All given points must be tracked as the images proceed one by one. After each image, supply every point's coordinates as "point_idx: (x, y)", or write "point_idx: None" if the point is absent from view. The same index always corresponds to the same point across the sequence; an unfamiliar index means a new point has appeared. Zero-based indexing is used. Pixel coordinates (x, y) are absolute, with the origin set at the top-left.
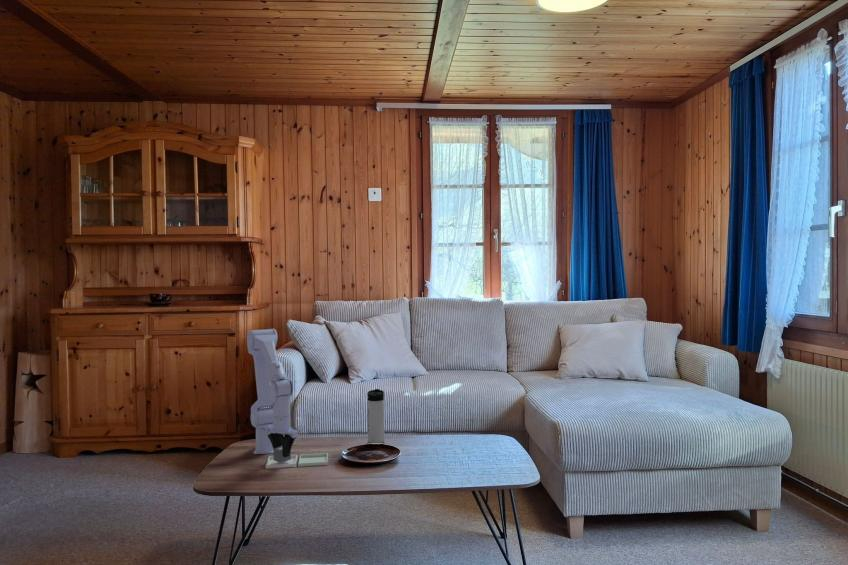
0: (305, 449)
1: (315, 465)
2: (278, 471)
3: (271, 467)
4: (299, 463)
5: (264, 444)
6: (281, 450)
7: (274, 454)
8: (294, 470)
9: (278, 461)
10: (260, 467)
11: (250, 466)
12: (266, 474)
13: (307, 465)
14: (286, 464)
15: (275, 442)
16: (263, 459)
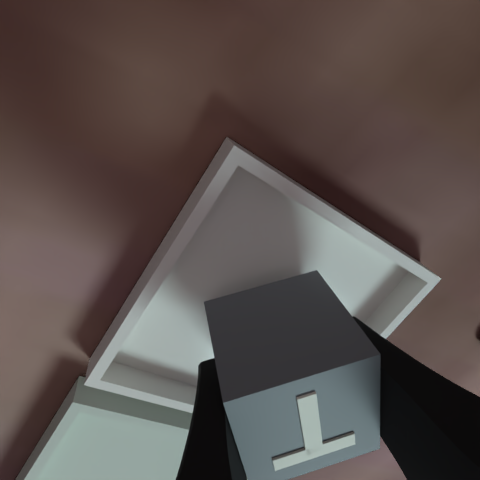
0: (381, 473)
1: (20, 471)
2: (66, 210)
3: (196, 192)
4: (66, 409)
5: None
6: (234, 408)
7: (328, 312)
8: (7, 331)
9: (245, 292)
10: (312, 116)
11: (420, 45)
12: (37, 57)
13: (44, 434)
14: (122, 322)
15: (432, 447)
16: (462, 229)
